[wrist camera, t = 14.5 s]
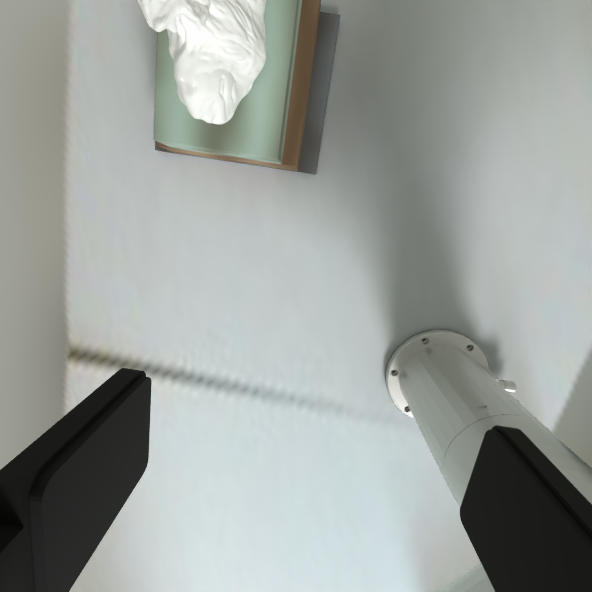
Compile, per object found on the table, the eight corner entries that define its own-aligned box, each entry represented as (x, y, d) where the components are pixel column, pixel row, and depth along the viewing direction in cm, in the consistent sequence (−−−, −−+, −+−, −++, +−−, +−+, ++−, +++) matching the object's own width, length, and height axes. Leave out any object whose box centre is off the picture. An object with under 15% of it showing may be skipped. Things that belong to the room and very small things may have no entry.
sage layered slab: (339, 19, 34) (348, -44, 26) (315, 174, 38) (317, 164, 30) (164, -7, 34) (115, -78, 26) (158, 150, 38) (114, 134, 30)
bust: (251, -14, 28) (111, -159, 19) (319, -23, 24) (181, -214, 15) (211, 133, 31) (74, 66, 22) (266, 148, 27) (123, 73, 18)
